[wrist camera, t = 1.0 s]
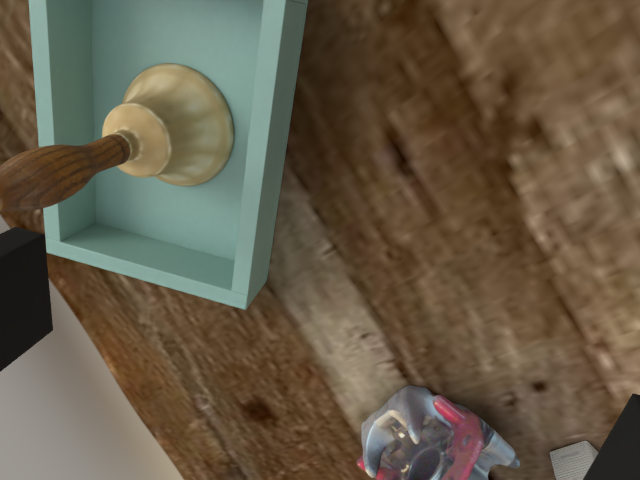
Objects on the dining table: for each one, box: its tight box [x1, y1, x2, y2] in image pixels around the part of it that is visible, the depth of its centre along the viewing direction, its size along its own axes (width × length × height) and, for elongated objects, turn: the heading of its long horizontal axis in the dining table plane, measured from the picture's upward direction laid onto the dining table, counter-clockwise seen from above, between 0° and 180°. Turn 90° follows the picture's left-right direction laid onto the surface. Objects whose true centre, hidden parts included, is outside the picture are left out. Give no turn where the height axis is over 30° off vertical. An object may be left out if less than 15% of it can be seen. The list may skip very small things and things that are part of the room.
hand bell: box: [0, 63, 234, 212], centre depth 26 cm, size 8×8×16 cm
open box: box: [29, 0, 308, 310], centre depth 32 cm, size 20×15×4 cm
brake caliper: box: [357, 385, 520, 480], centre depth 35 cm, size 11×11×12 cm
